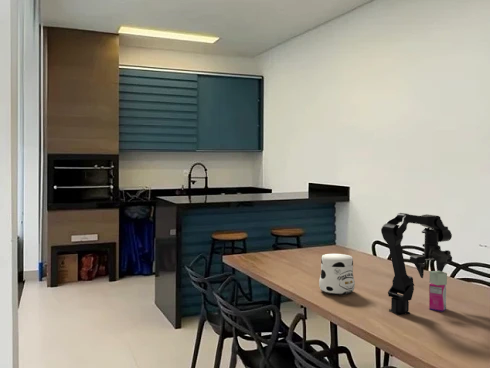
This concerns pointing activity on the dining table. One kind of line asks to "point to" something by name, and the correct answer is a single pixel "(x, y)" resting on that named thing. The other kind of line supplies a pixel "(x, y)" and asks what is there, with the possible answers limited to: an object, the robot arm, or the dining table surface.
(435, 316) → the dining table surface
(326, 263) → the milk container
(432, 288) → the supplement box
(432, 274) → the sage cube
